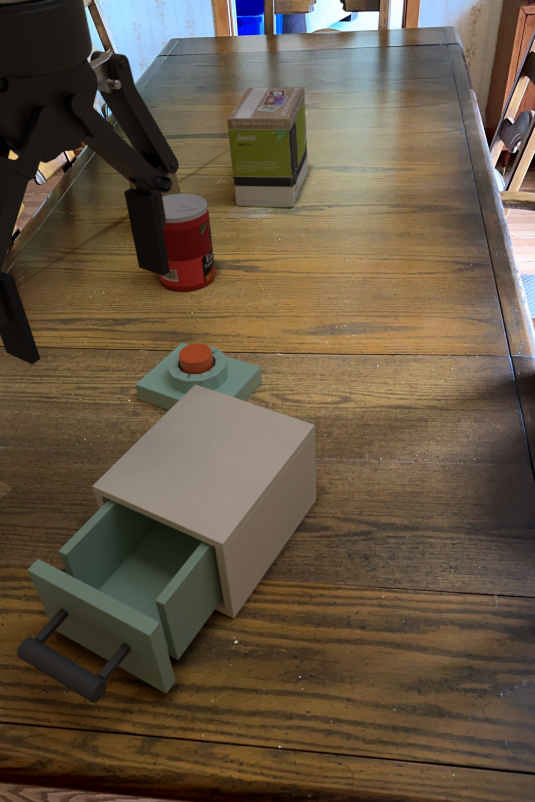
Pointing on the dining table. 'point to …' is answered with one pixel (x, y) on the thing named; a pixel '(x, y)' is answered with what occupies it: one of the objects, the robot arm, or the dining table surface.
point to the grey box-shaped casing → (221, 482)
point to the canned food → (187, 243)
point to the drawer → (123, 599)
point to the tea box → (268, 146)
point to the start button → (196, 359)
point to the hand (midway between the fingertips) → (94, 310)
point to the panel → (198, 379)
